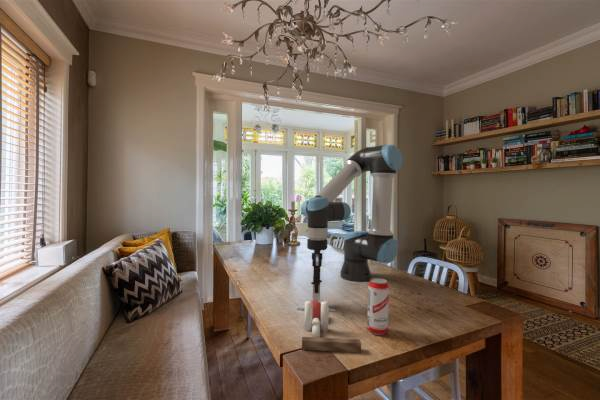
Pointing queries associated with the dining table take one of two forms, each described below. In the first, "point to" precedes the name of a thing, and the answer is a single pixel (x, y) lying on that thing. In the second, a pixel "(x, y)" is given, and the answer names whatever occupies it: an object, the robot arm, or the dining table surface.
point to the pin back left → (308, 315)
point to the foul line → (304, 309)
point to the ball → (316, 309)
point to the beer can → (378, 306)
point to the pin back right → (324, 316)
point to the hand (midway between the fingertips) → (316, 300)
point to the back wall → (331, 344)
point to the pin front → (316, 328)
